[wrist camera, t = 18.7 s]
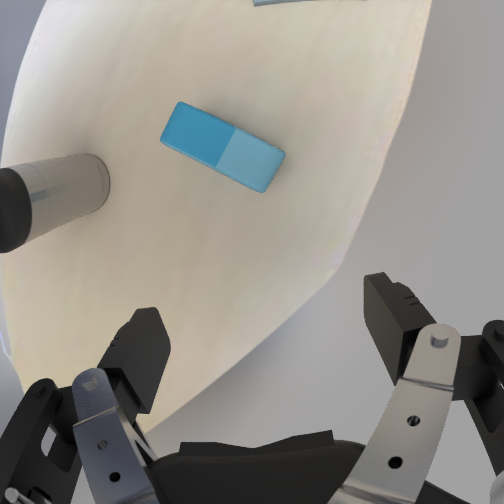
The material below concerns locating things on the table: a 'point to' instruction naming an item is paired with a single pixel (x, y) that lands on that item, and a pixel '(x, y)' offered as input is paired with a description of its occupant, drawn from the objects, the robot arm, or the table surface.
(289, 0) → the pin tray
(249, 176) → the data package
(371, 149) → the table surface
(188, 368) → the table surface
